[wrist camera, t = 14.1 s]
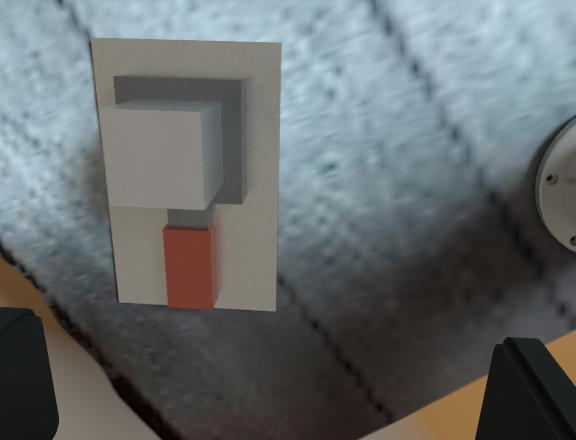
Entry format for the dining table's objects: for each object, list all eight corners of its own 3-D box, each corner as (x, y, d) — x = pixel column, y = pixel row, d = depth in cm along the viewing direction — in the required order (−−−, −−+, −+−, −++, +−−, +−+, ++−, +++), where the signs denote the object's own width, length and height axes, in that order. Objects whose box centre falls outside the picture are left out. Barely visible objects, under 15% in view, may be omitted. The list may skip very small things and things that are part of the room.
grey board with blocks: (281, 42, 34) (272, 40, 27) (276, 308, 41) (267, 356, 35) (93, 37, 35) (40, 34, 28) (121, 299, 42) (84, 345, 36)
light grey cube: (221, 101, 33) (200, 112, 27) (223, 184, 35) (204, 210, 29) (137, 98, 33) (99, 108, 27) (143, 181, 35) (109, 206, 29)
